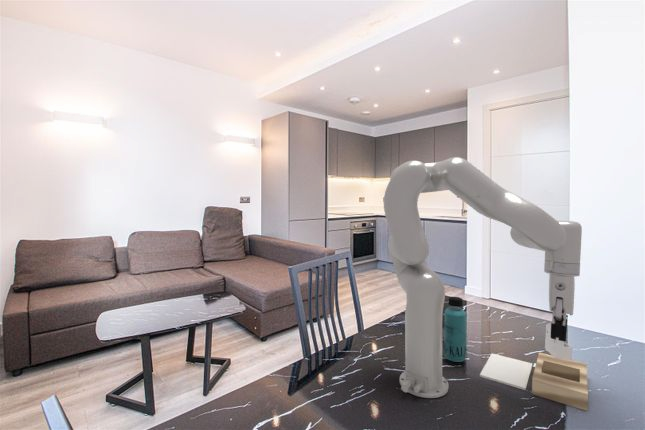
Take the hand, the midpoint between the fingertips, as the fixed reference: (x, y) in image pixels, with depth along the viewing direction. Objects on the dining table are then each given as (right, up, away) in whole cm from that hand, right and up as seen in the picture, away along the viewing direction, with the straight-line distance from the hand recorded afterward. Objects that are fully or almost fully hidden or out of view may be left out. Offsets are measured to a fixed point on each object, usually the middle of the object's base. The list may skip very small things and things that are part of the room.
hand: (558, 335), depth 86 cm
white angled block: (0, -5, 0) cm, 5 cm away
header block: (+1, -14, 0) cm, 14 cm away
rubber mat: (-9, -13, +8) cm, 18 cm away
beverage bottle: (-22, -14, +14) cm, 29 cm away
